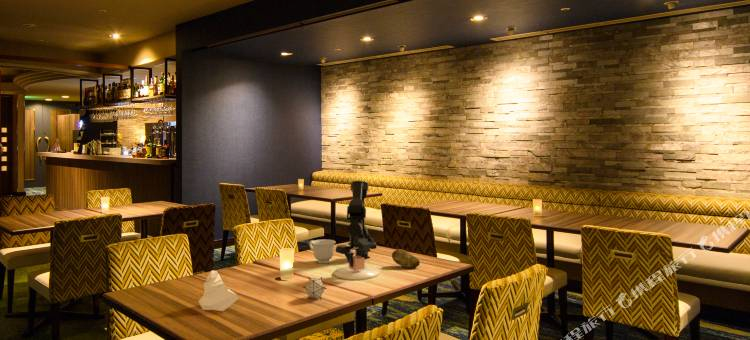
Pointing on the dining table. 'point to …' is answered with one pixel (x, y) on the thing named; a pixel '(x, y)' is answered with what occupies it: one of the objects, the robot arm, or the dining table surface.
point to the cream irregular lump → (216, 294)
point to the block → (358, 263)
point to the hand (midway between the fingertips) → (356, 266)
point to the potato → (405, 259)
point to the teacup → (322, 249)
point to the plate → (356, 273)
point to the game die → (314, 288)
